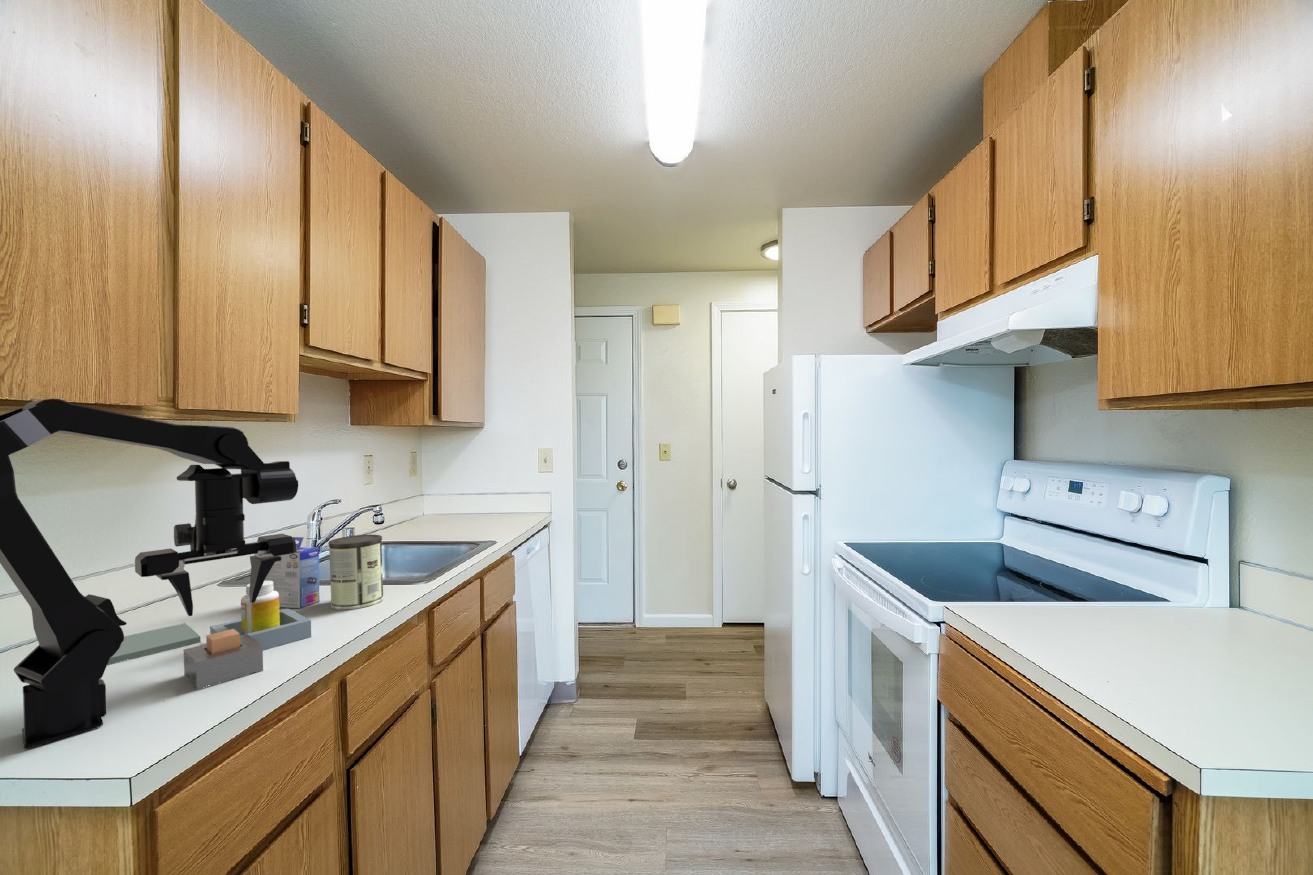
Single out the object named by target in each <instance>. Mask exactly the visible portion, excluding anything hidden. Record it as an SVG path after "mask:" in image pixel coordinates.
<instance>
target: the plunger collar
mask: <svg viewBox="0 0 1313 875" xmlns="http://www.w3.org/2000/svg"><path fill="white" fill-rule="evenodd" d="M263 651H264V650H263V645H262V644H261V643H259V642H258V641H256V640H255V639H254V638H252V637H251V636H249V635H248V634H245V635H241V636H240V647H238V648H234V649H230V650H226V651H222V652H218V653H215V654H211V655H210V654H209V653H208V652H207V647H206V643H205V644H204V643H203V644H201V645H197V646H193V647H189V648H185V649H183V676H184V677H185V678H186V680H187V681H188V682H189V681H190V682H191V683H190V682H189V683H190V684H191V685H192V686H193V685H194V686H193V688H194V689H195V688H196V689H199V690H202V689H201V688H203V687H206V686H208V685H213V686H215V685H214V684H216V685H218V684H217V683H219V682H223V681H226V682H229V681H232V680H231V679H233V680H236V679H239V678H238V677H240V676H243V677H245V676H244V675H246V676H248V675H247V674H250V673H253V672H256V673H259V672H258V671H260V672H262V670H263V671H264V655H263V654H264V653H263ZM253 674H254V673H253ZM250 675H251V674H250ZM235 678H236V679H235ZM240 678H241V677H240ZM228 680H229V681H228ZM223 683H224V682H223ZM219 684H220V683H219ZM206 688H207V687H206ZM196 689H195V690H196ZM203 689H204V688H203Z"/></svg>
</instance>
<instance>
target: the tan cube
mask: <svg viewBox="0 0 1313 875" xmlns="http://www.w3.org/2000/svg"><path fill="white" fill-rule="evenodd" d="M205 641H206V642H205V644H206V647H207V652H208V653H209V654H210V655H211V654H215V653H218V652H222V651H226V650H230V649H234V648H238V647H240V633H238V632H237V631H236V630H234V629H231V630H227V631H222V632H218V633H214V634H206V637H205Z"/></svg>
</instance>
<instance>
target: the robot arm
mask: <svg viewBox="0 0 1313 875" xmlns="http://www.w3.org/2000/svg"><path fill="white" fill-rule="evenodd" d="M55 433H58V434H59V433H60V434H67V435H72V436H78V437H85V438H90V439H97V440H102V441H103V440H104V441H108V442H109V441H110V442H115V443H121V444H127V445H128V444H129V445H132V446H133V445H134V446H138V447H139V446H140V447H146V448H152V449H158V450H162V451H164V452H167V453H170V454H173V455H174V456H177V457H179V458H182V459H186V460H189V461H192V462H195V463H198V464H190V465H189V466H188V468H187V469H186V470H185V471H183V472H181V473H180V474H179V475H177V476H176V480H177V481H179V482H184V481H185V482H194V487H195V488H194V489H195V490H194V493H195V494H194V496H195V497H194V498H195V518H194V522H195V524H194V526H192V524H191V523H189V522H188V523H179V524H175V525H174V526H173V542H174V546H175V547H184V546H190V551H184V552H183V551H182V552H178V551H177V550H174V549H173V548H165V549H156V550H149V551H142V552H139V553H138V554H137V555H136V556H135V560H134V572H135V573H136V574H138V576H140V577H141V578H145V577H146V578H147V577H153V576H156V578H159V579H160V580H161V581H166V580H168V582H169V584H171V586H172V587H173V588H174V590H175V592H176V593H177V595H178V598H179V600H180V602H181V604H182V606H183V608H184V610H185V613H186V615H187V616H188V617H191V616H193V614H194V613H193V612H194V604H193V596H192V588H191V581H190V580H191V579H190V578H191V577H190V573H189V572H188V571H187V570H185V567H186V566H185V565H190V564H196V563H203V562H210V561H216V560H217V561H218V560H223V559H229V558H237V557H243V556H249V560H250V561H249V562H250V566H251V567H250V580H249V584H250V590H249V596H250V602H251V603H254V602H255V601H256V598H257V596H258V594H259V592H260V589H261V587H262V585H263V583H264V580H265V578H266V576H267V575H268V573H269V571H270V570H271V568H272V566H273V565H274V563H275V562H276V561H281V560H282V557H280V555H286V554H292V553H296V544H297V542H296V541H297V540H295V539H294V538H293V537H294V536H291V535H288V534H285V533H277V534H268V535H262V536H258V538H257V541H256V542H255V541H254V542H253V541H252V542H248V543H246V540H245V533H244V521H245V519H246V518H245V517H246V516H245V513H244V500H246V501H247V502H248V503H249V504H252V505H259V504H268V503H277V502H286V501H292V500H293V499H294V498H295V497H296V496H297V493H298V490H299V480H298V479H297V477H296V473H295V472H294V470H293V469H291V467H290V464H291V463H290V461H288V460H287V461H286V460H285V461H283V460H282V461H281V460H280V461H278V460H277V461H272V462H263V460H262V459H261V458H260V456H258V454H257V453H256V452H255V451H254V450H253V449H252V448H251V447H250V445H249V441H248V438H247V436H246V435H245V433H244V431H242V430H241V429H238V428H236V427H232V426H218V425H217V426H216V425H194V424H175V423H171V422H166V421H160V420H156V419H150V418H146V417H140V416H135V415H131V414H125V413H121V412H117V411H116V412H115V411H112V410H105V409H102V408H101V409H100V408H95V407H90V406H86V405H81V404H75V403H72V402H69V401H66V400H64V399H60V398H46V399H38V400H32V401H30V402H28V403H26V404H25V405H23V406H22V407H19V408H16V409H14V410H11V411H8V412H6V413H2V414H0V565H1V567H2V568H3V570H4V571H5V572H6V574H7V575H8V577H9V578H10V579H11V581H12V582H13V584H14V585H15V587H16V588H17V590H18V591H19V592H20V594H21V595H22V597H23V599H24V600H25V601H26V603H27V604H28V605H29V607H30V611H31V614H32V626H33V630H34V634H35V637H36V639H37V642H38V645H37V646H36V647H35V648H34V649H33V650H31V652H30V653H29V654H28V655H27V656H26V657H24V659H22V660H21V661H20V662H19V663H18V664H17V665H16V666H15V667H14V668H13V672H14V673H15V675H16V676H17V678H18V679H19V681H20V683H26V684H27V685H23V686H22V700H23V701H22V702H23V704H22V706H23V711H22V712H23V728H21V729H22V730H21V732H22V733H21V734H22V735H21V736H22V743H23V749H25V750H26V749H31V748H35V747H37V746H40V745H44V744H47V743H50V742H53V741H57V740H60V739H64V738H66V737H70V736H73V735H76V734H80V733H83V732H86V731H90V730H93V729H96V728H99V727H101V726H103V725H104V720H103V717H105V716H106V715H107V692H106V691H107V690H106V689H107V688H106V685H107V684H106V683H105V681H104V679H102V678H103V675H104V674H105V671H106V668H107V666H108V665H107V664H108V662H109V659H110V658H111V657H112V656H113V655H114V654H115V653H116V652H117V651H118V649H119V648H120V646H121V643H122V642H123V641H124V636H125V634H124V631H123V628H121V626H122V627H123V626H126V625H127V624H128V622H126V621H125V620H122V619H121V618H120V617H119V616H118V614H117V613H116V610H115V606H114V604H113V602H112V600H111V599H110V598H107V597H103V596H98V595H95V594H90V593H88V594H86V596H85V595H83V594H82V593H81V592H80V591H79V589H78V588H77V586H76V584H75V583H74V581H73V580H72V578H71V577H70V575H69V573H68V572H67V570H66V569H65V568H64V566H63V565H62V563H61V561H60V560H59V559H58V558H59V557H57V555H56V554H55V553H54V551H53V549H52V547H51V546H50V545H49V543H48V542H47V540H46V539H45V537H44V535H43V533H42V532H41V530H40V529H39V528H38V526H37V525H36V523H35V521H34V520H33V519H32V517H31V516H30V514H29V512H28V510H27V509H26V508H25V506H24V504H23V503H22V501H21V500H20V498H19V497H18V494H17V488H16V487H17V486H16V480H15V470H14V467H13V465H12V461H11V458H10V455H13V454H15V453H17V452H19V451H21V450H23V449H26V448H28V447H30V446H32V445H34V444H36V443H37V442H39V441H41V440H43V439H45V438H47V437H48V436H50V435H53V434H55ZM200 464H202V465H215V466H218V467H217V468H204V467H203V466H201V465H200ZM229 470H240V473H232V472H230V471H229Z"/></svg>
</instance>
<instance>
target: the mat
mask: <svg viewBox="0 0 1313 875" xmlns="http://www.w3.org/2000/svg"><path fill="white" fill-rule="evenodd" d="M201 639H202V638H201V635H200V634H198V632H196V631H195V630H194V629H193V628H191V627H190V626H189V625H188V624H187V623H186V622H184V623H179V624H175V625H170V626H165V627H160V628H156V629H151V630H148V631H141V632H138V633H133V634H129V635H124V641H123V642H122V643H121V646H120V648H119V649H118V651H117V652H116V653H115V654H114V655H113V656H112V657H111V658H110V659H109V662H108V664H109V665H112V664H111V663H113V664H116V662H117V663H120V661H121V662H124V660H125V661H128V660H127V659H129V660H132V659H133V660H134V659H136V658H141V657H145V655H146V656H150V655H153V654H158V653H162V652H166V651H169V650H174V649H179V648H182V647H185V646H191V645H194V644H198V643H201Z"/></svg>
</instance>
